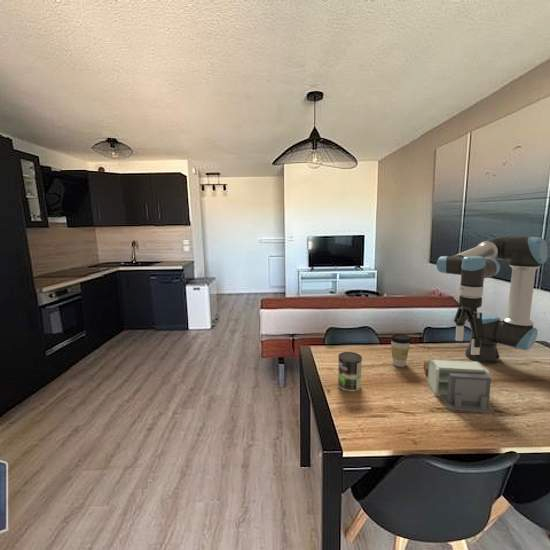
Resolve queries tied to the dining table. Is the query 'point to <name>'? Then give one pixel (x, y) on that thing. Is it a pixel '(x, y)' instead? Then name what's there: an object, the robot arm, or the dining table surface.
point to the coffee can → (349, 371)
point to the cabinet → (440, 379)
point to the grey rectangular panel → (468, 388)
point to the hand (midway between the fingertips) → (466, 347)
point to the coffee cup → (400, 348)
